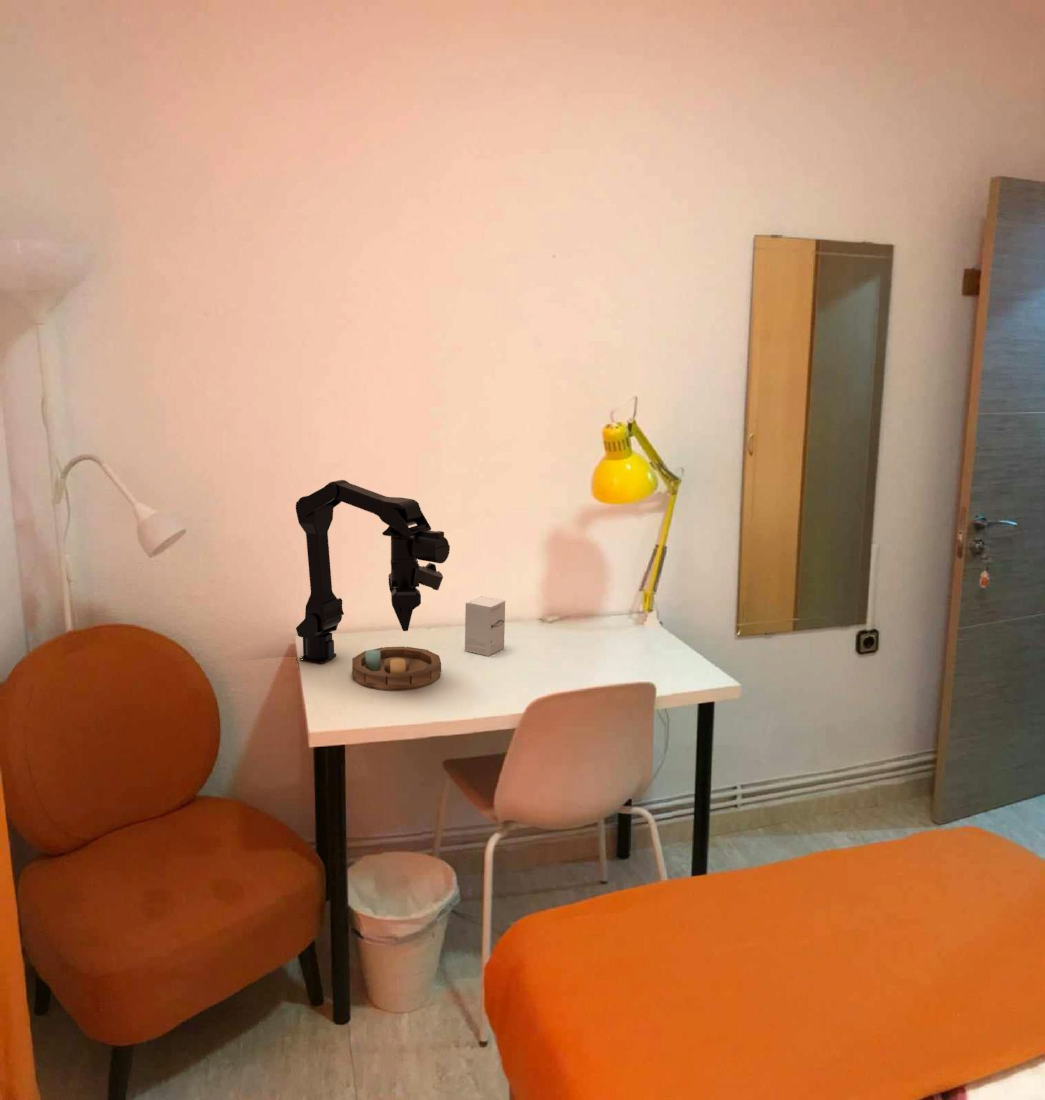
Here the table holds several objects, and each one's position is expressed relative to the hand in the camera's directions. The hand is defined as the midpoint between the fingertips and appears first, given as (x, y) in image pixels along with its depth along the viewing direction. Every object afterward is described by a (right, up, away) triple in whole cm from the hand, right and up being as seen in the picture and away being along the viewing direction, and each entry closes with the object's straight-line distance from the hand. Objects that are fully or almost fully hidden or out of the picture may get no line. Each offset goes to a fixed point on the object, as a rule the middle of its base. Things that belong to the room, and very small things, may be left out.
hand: (404, 624), depth 223 cm
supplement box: (+17, -8, +24) cm, 31 cm away
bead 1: (-8, -11, +6) cm, 14 cm away
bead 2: (-1, -12, 0) cm, 12 cm away
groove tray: (-2, -12, +6) cm, 14 cm away
